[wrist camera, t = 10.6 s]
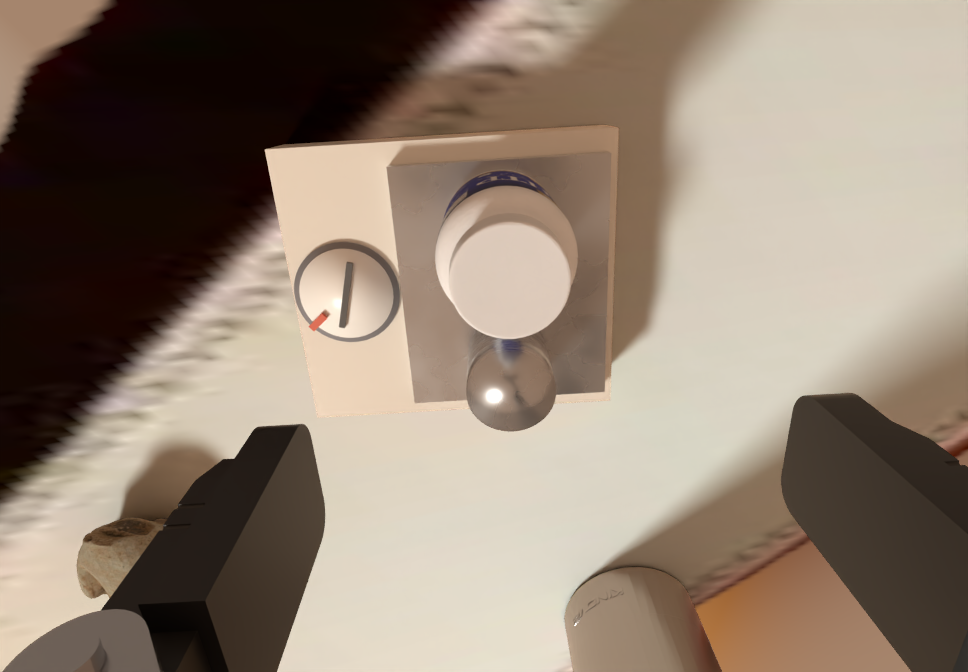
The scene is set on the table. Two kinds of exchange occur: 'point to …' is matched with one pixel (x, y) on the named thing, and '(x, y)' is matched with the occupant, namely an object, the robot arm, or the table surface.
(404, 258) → the scale pan
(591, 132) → the scale housing
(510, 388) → the cylinder
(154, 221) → the table surface
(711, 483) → the table surface
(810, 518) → the robot arm
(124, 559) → the sculpture
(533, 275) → the pill bottle
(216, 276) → the table surface
